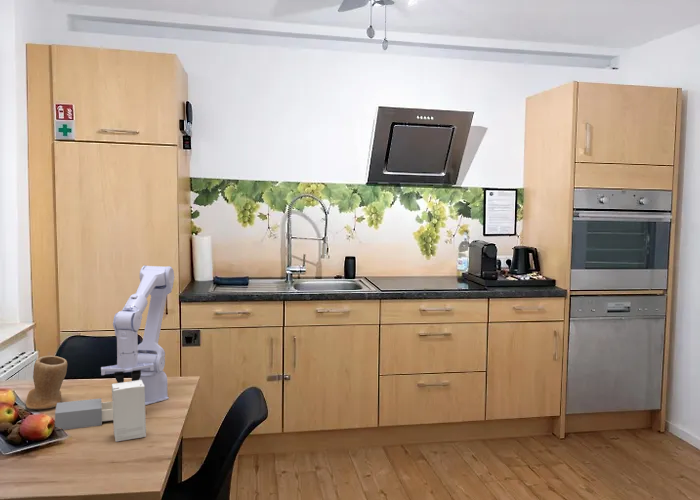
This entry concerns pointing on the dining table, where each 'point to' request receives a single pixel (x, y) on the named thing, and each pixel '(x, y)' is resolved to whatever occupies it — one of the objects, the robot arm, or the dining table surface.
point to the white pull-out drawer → (107, 411)
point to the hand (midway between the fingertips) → (127, 395)
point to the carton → (78, 414)
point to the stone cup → (47, 382)
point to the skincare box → (129, 410)
